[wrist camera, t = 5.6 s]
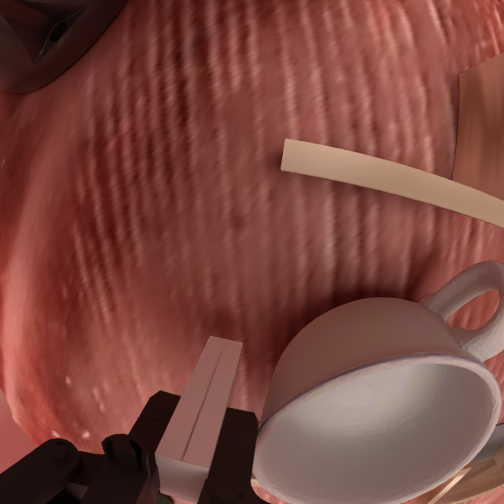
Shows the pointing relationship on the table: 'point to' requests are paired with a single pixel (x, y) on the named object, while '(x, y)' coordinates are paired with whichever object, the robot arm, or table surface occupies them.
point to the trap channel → (444, 196)
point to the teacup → (382, 398)
